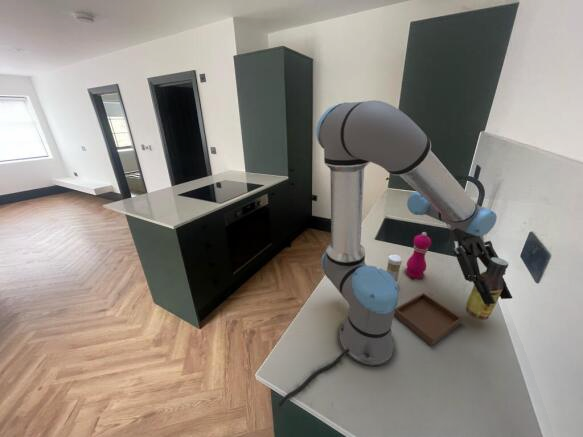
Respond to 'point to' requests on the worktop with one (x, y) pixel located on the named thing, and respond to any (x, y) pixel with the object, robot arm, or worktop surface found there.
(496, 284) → the sauce bottle
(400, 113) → the robot arm
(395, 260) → the sprinkles bottle
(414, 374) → the worktop surface
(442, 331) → the serving tray
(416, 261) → the pepper mill
